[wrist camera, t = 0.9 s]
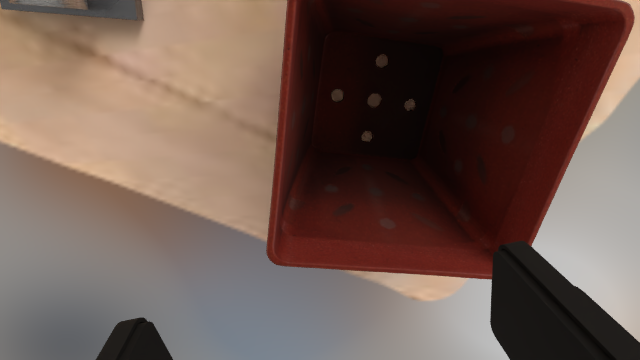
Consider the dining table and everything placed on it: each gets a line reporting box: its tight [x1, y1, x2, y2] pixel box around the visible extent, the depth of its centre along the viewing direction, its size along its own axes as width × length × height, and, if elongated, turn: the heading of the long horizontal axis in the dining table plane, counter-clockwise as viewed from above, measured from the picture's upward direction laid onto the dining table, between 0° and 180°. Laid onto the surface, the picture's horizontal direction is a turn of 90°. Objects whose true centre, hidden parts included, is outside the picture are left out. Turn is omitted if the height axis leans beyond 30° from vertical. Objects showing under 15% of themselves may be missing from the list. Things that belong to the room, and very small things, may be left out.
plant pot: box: [266, 0, 635, 279], centre depth 29 cm, size 19×19×17 cm
